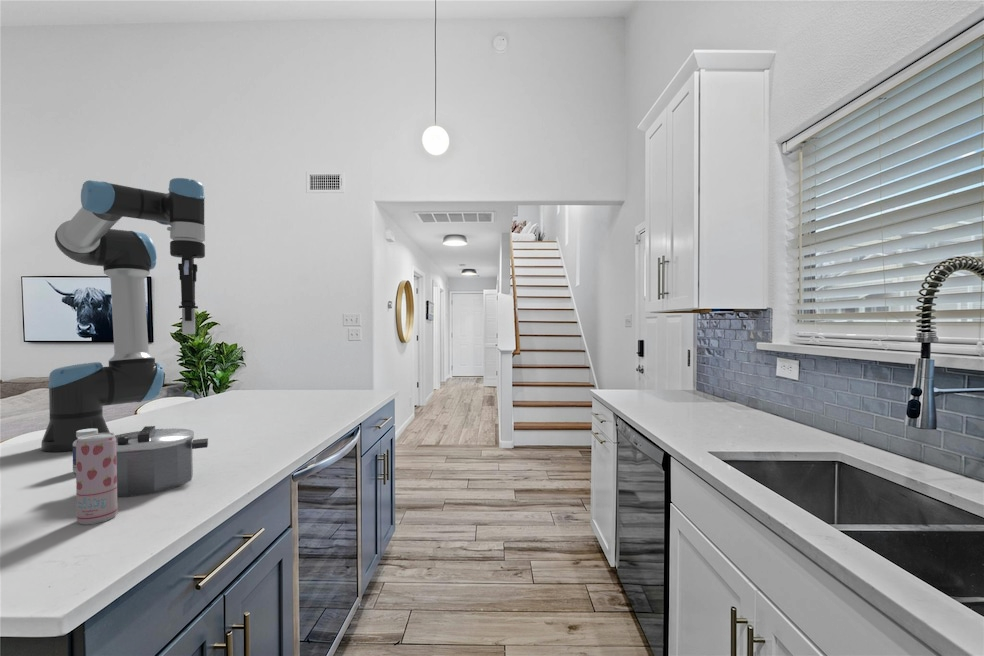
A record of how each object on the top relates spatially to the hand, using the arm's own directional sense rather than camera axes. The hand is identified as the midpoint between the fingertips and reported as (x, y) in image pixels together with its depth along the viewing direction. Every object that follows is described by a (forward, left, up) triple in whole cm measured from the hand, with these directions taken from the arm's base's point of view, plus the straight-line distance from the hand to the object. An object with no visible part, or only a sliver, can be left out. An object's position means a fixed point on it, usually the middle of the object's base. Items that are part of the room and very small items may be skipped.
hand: (188, 334), depth 123 cm
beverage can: (+35, -12, -33) cm, 49 cm away
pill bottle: (-2, -21, -33) cm, 39 cm away
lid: (+16, -7, -23) cm, 29 cm away
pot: (+16, -7, -32) cm, 37 cm away
